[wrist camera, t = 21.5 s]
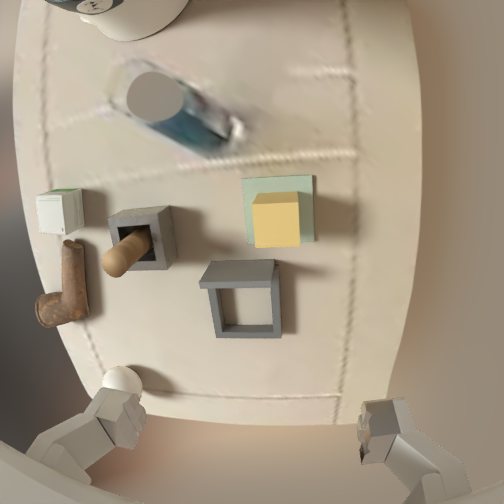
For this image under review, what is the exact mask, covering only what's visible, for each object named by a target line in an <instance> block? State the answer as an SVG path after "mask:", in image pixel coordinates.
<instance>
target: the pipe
mask: <svg viewBox="0 0 504 504" xmlns="http://www.w3.org/2000/svg"><path fill="white" fill-rule="evenodd" d="M62 290H63V292H54V293H49V294H41V295H40V296H39V297H38V298H37V301H36V304H35V311H36V315H37V318H38V320H39V321H40V323H41V324H42V325H43V326H45V327H47V328H51V327H52V326H58V325H62V324H65V323H68V322H71V321H74V320H77V319H80V318H85V317H88V316H89V315H90V311H89V307H88V303H87V293H86V284H85V263H84V247H83V245H82V244H79V243H77V242H73V241H71V240H64V241H63V246H62Z"/></svg>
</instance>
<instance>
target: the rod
mask: <svg viewBox="0 0 504 504" xmlns="http://www.w3.org/2000/svg"><path fill="white" fill-rule="evenodd" d="M153 246H154V245H153V240H152V235H151V229H150V224H147V225H142V226H141V227H140V228H138V229H137V230H135V231H134V232H133V233H131V234H130V235H129V236H127V237H126V238H125V239H123V240H122V241H120V242H119V243H118V244H116V245H115V246H114V247H112V248H111V249H110V250H108V251H107V252H106V253H105V254H104V255H103V257H102V266H103V268H104V270H105V271H106V273H107V274H109V275H110V276H112V277H121V276H122V275H123V274H124V273H125V272H126V271H127V270H128V269H129V268H130V267H132V266H133V265H134V264H135V263H136V262H137V261H138V260H139V259H140V258H141V257H142V256H143V255H144V254H145V253H146V252H147V251H149V250H150V249H151V248H152V247H153Z"/></svg>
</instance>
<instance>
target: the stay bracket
mask: <svg viewBox="0 0 504 504" xmlns="http://www.w3.org/2000/svg"><path fill="white" fill-rule="evenodd" d="M107 219H108V224H109V229H110V233H111V238H112V243H113V247H114V246H115V245H116V244H118V243H119V242H120V241H122V240H123V239H125V238H126V237H127V236H129V235H130V234H131V233H133V232H134V228H133V226H135V225H147V224H150V229H151V235H152V240H153V245H154V250H149V251H147V252H146V253H145V254H144V255H143V256H142V257H141V258H140V259H139V260H138V261H137V262H136V263H135V264H134V265H133V266H132V267H130V268H129V269H128V270H127V271H135V270H168V269H169V267H170V266H171V265H172V264H173V263H174V262H175V260H176V259H177V258H178V254H177V248H176V243H175V237H174V231H173V224H172V218H171V212H170V205H168V206H158V207H148V208H139V209H129V210H122V211H120V212H118V213H117V214H115V215H113V216H111V217H109V218H107Z"/></svg>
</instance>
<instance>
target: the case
mask: <svg viewBox="0 0 504 504" xmlns="http://www.w3.org/2000/svg"><path fill="white" fill-rule="evenodd" d="M199 285H200V289H208V294H209V300H210V305H211V311H212V317H213V323H214V328H215V334H216V338H281V336H282V323H281V303H280V284H279V266H278V265H274V259H266V260H236V261H211V263H210V265H209V266H208V268H207V270H206V271H205V273H204V275H203V276H202V278H201V280H200V281H199ZM268 287H271V301H272V316H273V325H225V323H224V317H223V310H222V304H221V297H220V291H219V288H268Z"/></svg>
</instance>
